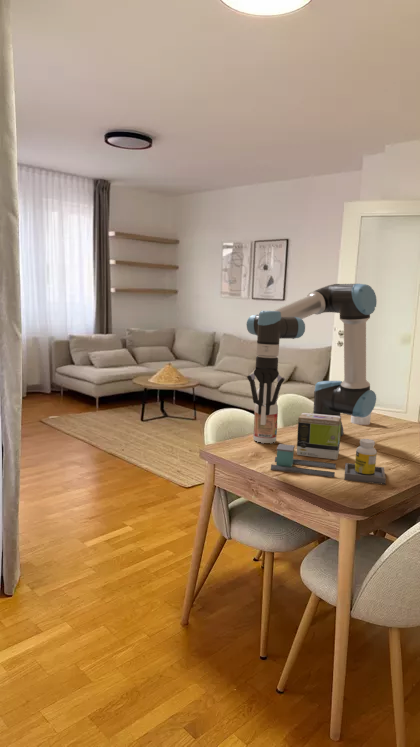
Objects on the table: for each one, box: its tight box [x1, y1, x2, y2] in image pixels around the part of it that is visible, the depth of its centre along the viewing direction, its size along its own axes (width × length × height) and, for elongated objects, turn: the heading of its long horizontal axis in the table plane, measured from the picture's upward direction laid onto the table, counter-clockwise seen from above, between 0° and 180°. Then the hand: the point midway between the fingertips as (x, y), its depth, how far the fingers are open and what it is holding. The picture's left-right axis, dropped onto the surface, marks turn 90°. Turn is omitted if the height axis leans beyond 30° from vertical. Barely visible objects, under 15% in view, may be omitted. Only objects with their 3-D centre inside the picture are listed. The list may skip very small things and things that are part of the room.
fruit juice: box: [252, 380, 279, 444], centre depth 203 cm, size 9×9×28 cm
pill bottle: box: [354, 438, 378, 476], centre depth 167 cm, size 6×6×12 cm
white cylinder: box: [350, 412, 372, 426], centre depth 242 cm, size 9×9×12 cm
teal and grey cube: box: [275, 443, 296, 467], centre depth 174 cm, size 6×5×6 cm
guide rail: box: [270, 456, 337, 478], centre depth 173 cm, size 10×21×2 cm, turn 74°
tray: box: [343, 462, 387, 486], centre depth 167 cm, size 12×13×2 cm
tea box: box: [296, 412, 342, 460], centre depth 189 cm, size 15×10×15 cm, turn 71°
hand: (263, 423), depth 174 cm, fingers closed
